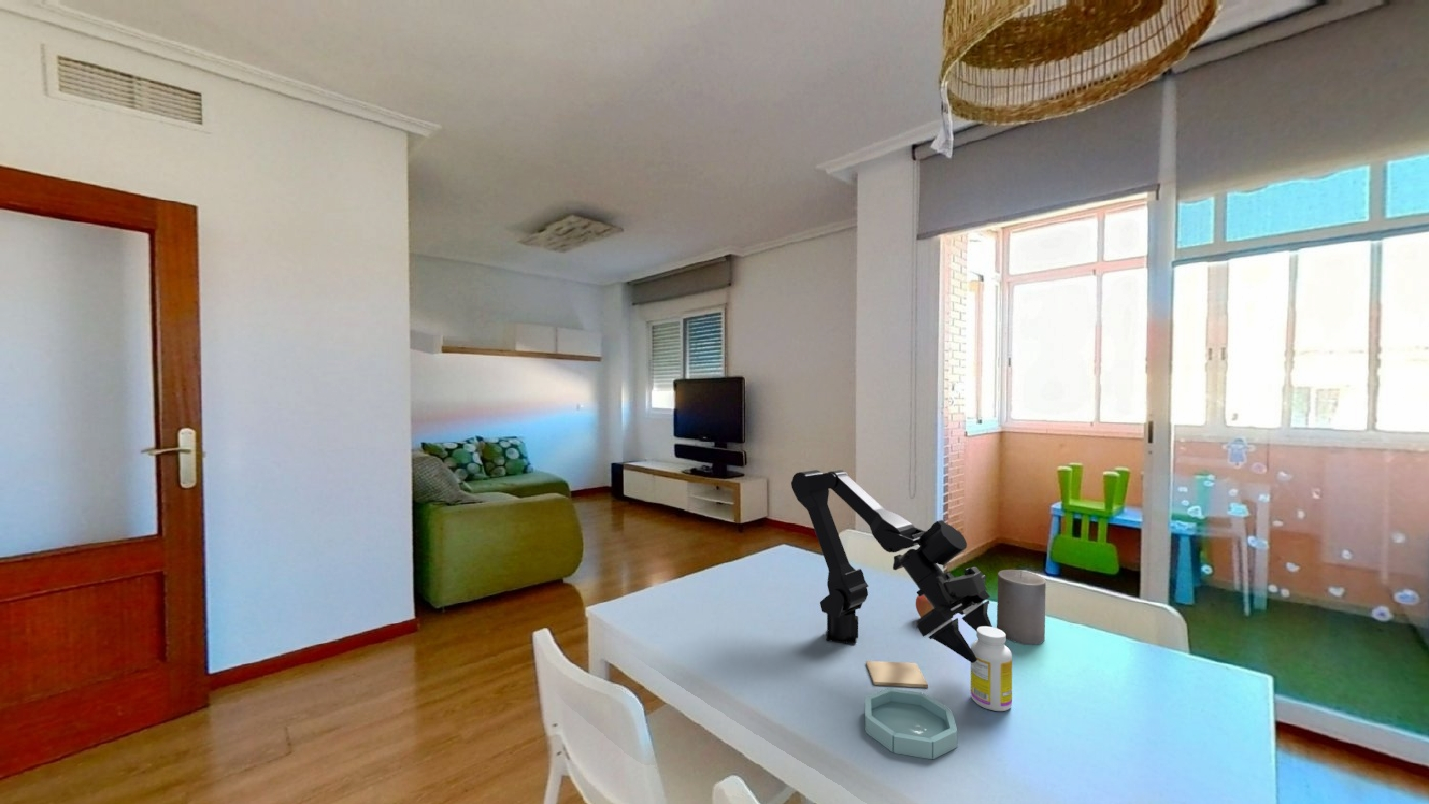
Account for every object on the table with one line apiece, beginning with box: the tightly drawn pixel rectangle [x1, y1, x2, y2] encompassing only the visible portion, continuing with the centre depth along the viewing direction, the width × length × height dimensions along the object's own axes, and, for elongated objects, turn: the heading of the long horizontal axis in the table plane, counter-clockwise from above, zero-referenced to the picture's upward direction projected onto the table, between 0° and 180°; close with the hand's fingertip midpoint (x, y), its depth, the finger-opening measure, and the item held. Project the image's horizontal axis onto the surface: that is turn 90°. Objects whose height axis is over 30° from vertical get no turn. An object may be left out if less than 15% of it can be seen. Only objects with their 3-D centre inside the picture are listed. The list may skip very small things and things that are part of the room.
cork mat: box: [865, 660, 929, 689], centre depth 105 cm, size 10×8×1 cm
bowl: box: [864, 687, 958, 760], centre depth 88 cm, size 14×14×3 cm
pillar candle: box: [996, 569, 1047, 646], centre depth 122 cm, size 10×10×15 cm
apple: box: [915, 594, 934, 618], centre depth 129 cm, size 7×7×8 cm
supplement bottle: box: [970, 626, 1013, 712], centre depth 96 cm, size 7×7×13 cm
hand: (986, 653), depth 96 cm, fingers open, 9 cm apart
